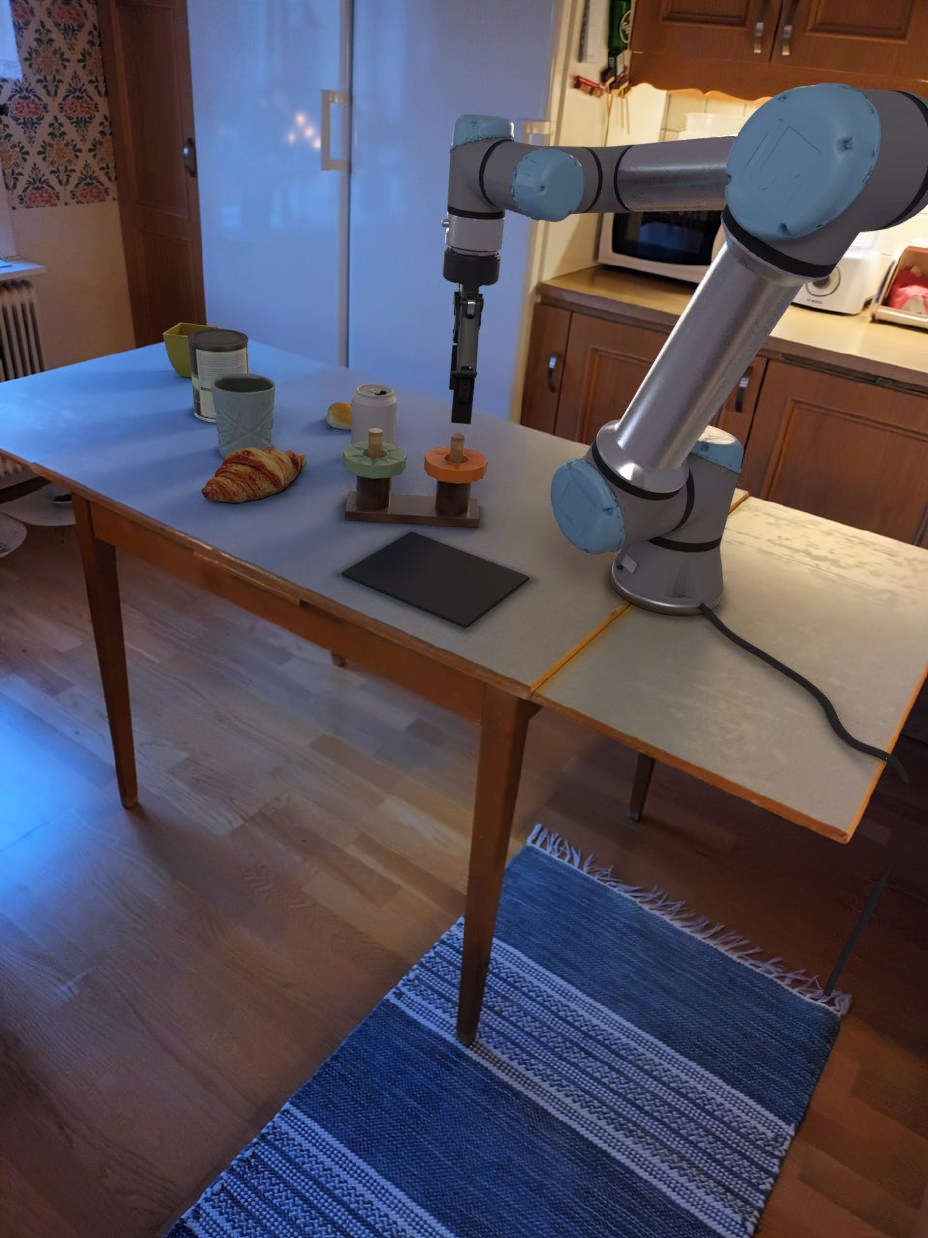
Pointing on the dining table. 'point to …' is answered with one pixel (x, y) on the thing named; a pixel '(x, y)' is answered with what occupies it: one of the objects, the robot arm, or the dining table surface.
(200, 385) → the coffee can
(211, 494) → the croissant
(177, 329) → the flower pot
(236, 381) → the grey embossed cup
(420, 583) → the mat
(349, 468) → the green disc
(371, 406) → the can
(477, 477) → the orange disc
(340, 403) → the bread roll
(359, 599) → the dining table surface
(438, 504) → the peg rack
